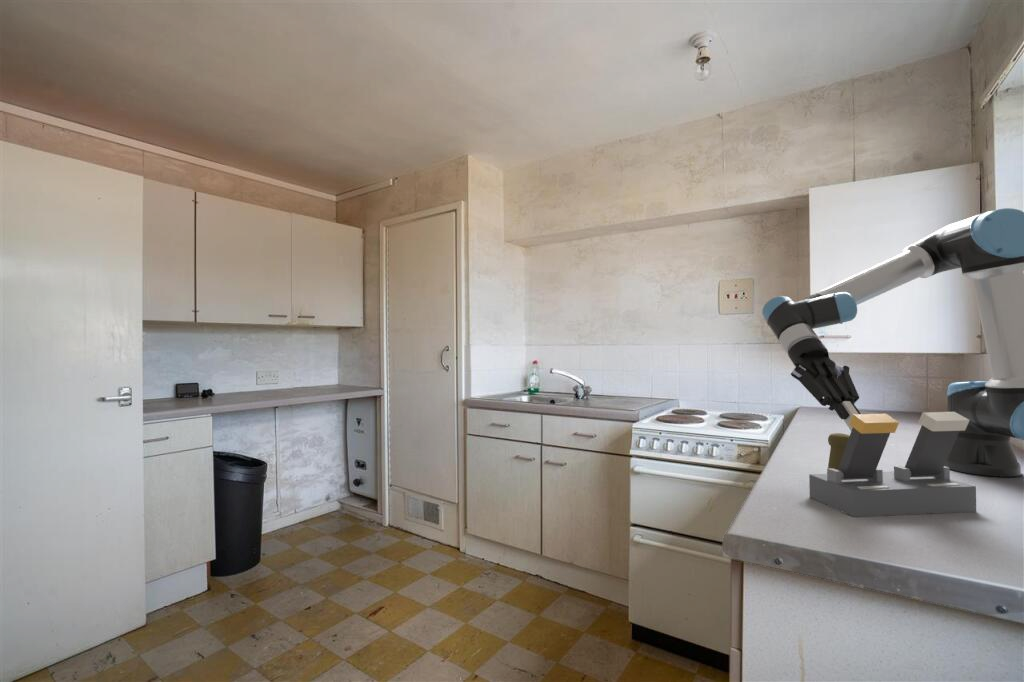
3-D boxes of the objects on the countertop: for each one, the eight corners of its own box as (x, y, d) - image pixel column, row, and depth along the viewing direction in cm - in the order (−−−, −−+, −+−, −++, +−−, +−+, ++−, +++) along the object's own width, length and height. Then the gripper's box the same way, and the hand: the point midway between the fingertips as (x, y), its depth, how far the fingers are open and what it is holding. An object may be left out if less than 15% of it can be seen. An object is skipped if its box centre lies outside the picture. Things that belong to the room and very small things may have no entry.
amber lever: (832, 474, 100) (853, 414, 94) (863, 472, 101) (885, 413, 95) (843, 484, 97) (865, 423, 91) (875, 482, 98) (899, 422, 92)
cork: (846, 474, 121) (845, 431, 121) (861, 481, 115) (860, 436, 115) (821, 474, 122) (820, 431, 122) (835, 481, 116) (834, 436, 116)
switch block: (919, 492, 106) (919, 459, 106) (976, 511, 94) (975, 473, 94) (809, 497, 104) (809, 462, 104) (853, 516, 92) (852, 478, 92)
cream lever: (898, 471, 101) (922, 412, 96) (928, 470, 102) (954, 411, 96) (911, 481, 98) (936, 420, 93) (942, 480, 99) (969, 420, 93)
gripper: (821, 357, 116) (879, 440, 100) (770, 358, 115) (820, 441, 99) (838, 336, 111) (902, 419, 94) (784, 336, 110) (840, 420, 93)
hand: (860, 430), depth 96 cm, fingers closed
